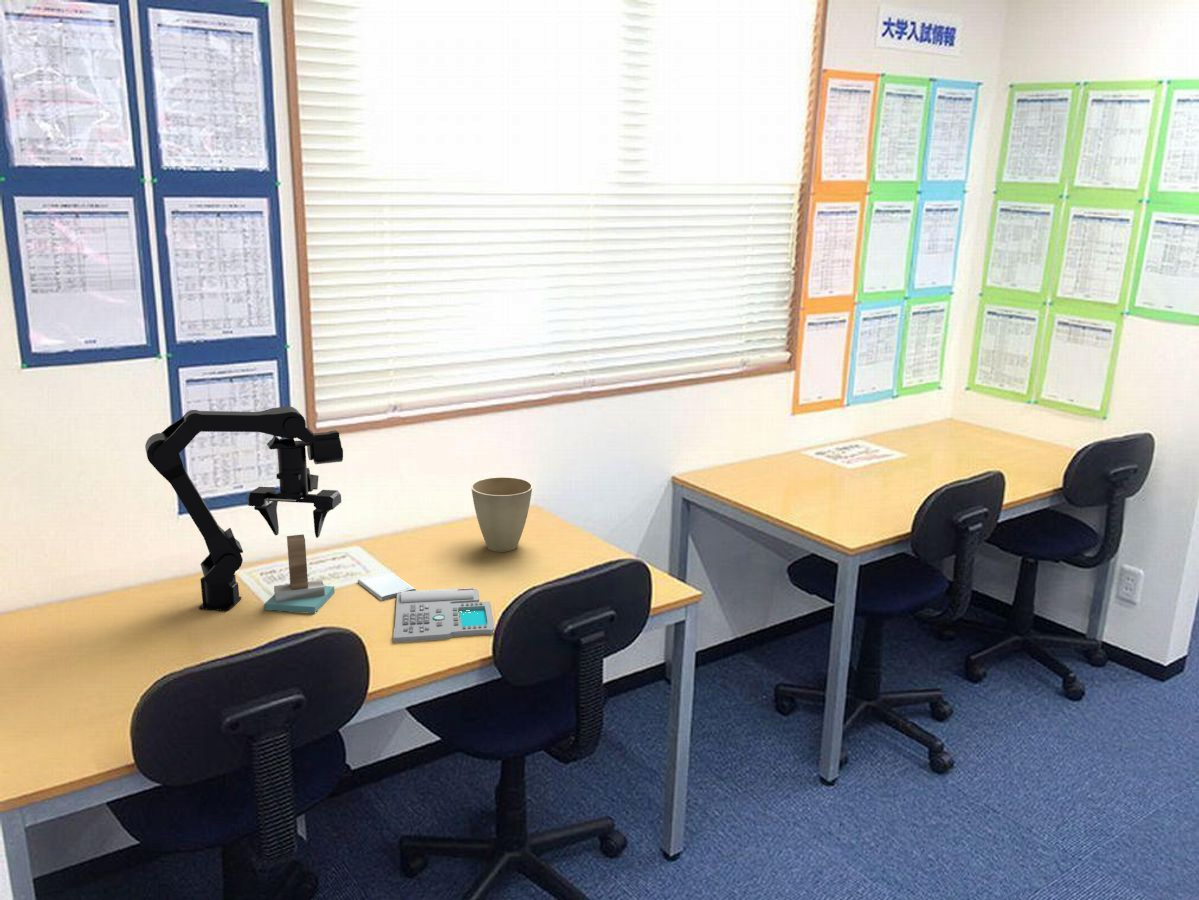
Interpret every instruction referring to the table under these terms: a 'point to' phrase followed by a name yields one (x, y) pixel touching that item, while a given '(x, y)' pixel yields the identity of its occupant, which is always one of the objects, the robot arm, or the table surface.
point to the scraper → (298, 574)
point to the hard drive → (385, 585)
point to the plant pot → (501, 510)
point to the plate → (300, 602)
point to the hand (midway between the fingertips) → (297, 535)
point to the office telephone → (441, 615)
